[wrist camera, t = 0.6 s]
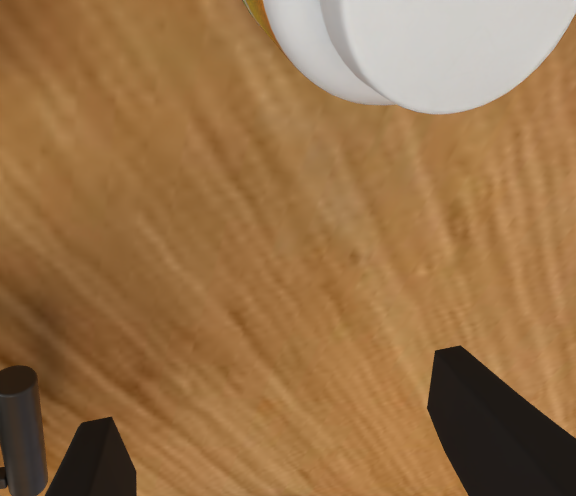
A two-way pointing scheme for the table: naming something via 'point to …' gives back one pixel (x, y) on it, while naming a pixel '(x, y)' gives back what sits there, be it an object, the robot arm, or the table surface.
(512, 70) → the supplement bottle
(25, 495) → the drawer
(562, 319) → the table surface
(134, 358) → the table surface
